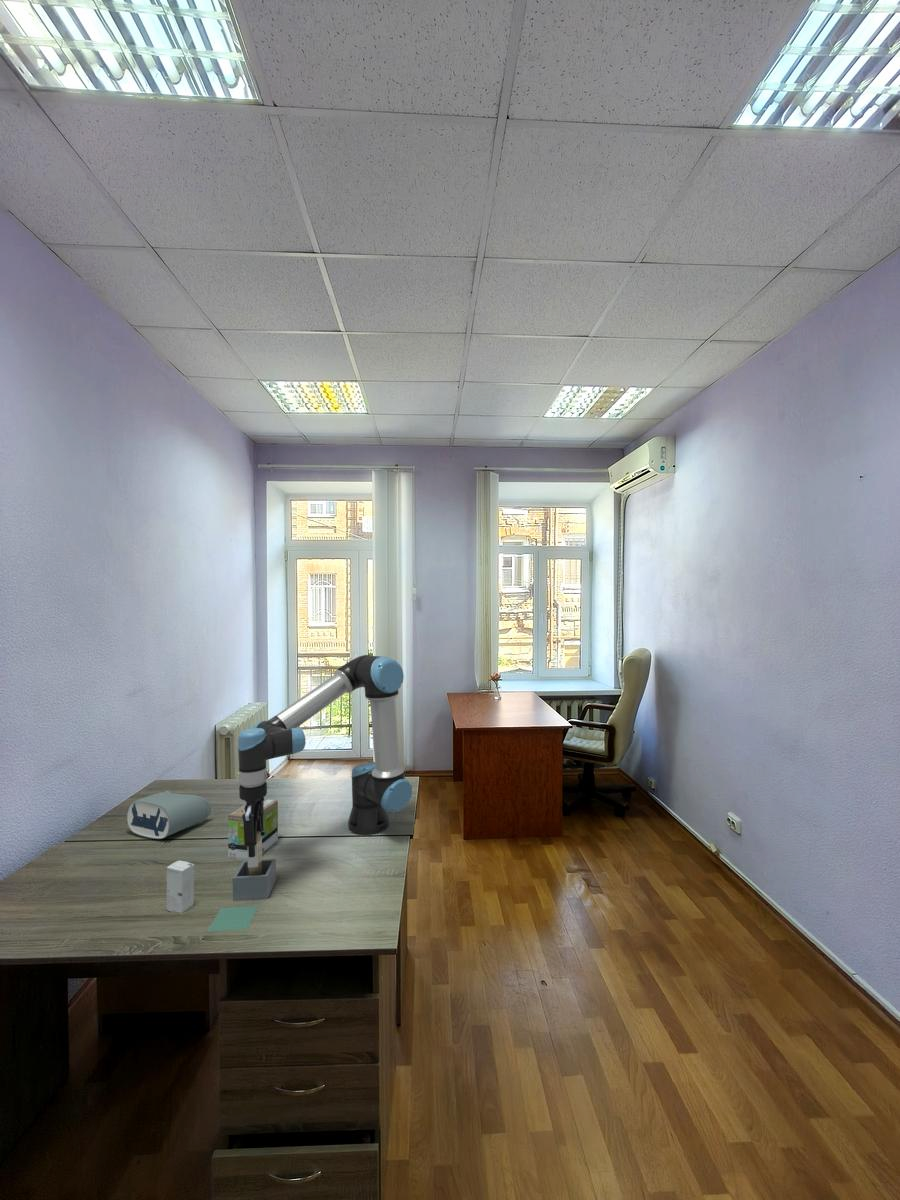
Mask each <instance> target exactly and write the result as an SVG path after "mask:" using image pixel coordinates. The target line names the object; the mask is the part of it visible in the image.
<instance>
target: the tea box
mask: <svg viewBox="0 0 900 1200" xmlns="http://www.w3.org/2000/svg"><path fill="white" fill-rule="evenodd" d="M278 804H279V803H278V800H277V799H267V798H264V804H263V807H264V830H263V831H262V832H265V835H263V836H261V837H262V854H263V853H265V851H267V850H268V849H269V848H270V847H272V846H273V845H275V843H276V842H278V840H279V831H278V830H279V828H278V827H279V821H278V820H279V814H278V812H279V811H278V810H279V808H278V807H279V805H278ZM245 805H246V803H245V804H243V805H242V806H240V807H238V808H237V809H236V810H234V811H232V812H231V813H229V814H228V819H227V820H228V821H227V822H228V826H227V828H228V829H227V830H228V832H227V834H228V835H227V837H228V838H227V840H228V841H227V842H228V843H227V845H228V848H227V850H228V851H227V852H228V853H227V854H228V855H227V858H228V859H243V860H248V854H247V847H245V846H244V823H243V817H242V815H243V814H246V812H245Z"/></svg>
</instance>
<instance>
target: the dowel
mask: <svg viewBox="0 0 900 1200" xmlns="http://www.w3.org/2000/svg"><path fill="white" fill-rule="evenodd" d="M256 842H257V843H258V867H250V868H249V876H254V875H262V860H263V855H262V856H261V832H260V831H257V838H256Z"/></svg>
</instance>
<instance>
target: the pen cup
mask: <svg viewBox="0 0 900 1200" xmlns="http://www.w3.org/2000/svg"><path fill="white" fill-rule="evenodd" d="M276 881H277V859H276V858H271V859H270V858H269V859H262V875H254V876H249V868H248V860H243V861H241V863H240V865H239V867H238V868H237V870H236V872H235V873H234V874H233V877H232V901H233V902H238V901H239V902H240V901H251V900H252V901H253V900H254V901H255V900H266V899H267V900H268V899H269V898H270V895H271V892H272V891H273V888H274V886H275V884H276Z"/></svg>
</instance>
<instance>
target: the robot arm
mask: <svg viewBox="0 0 900 1200" xmlns="http://www.w3.org/2000/svg"><path fill="white" fill-rule="evenodd" d="M404 678H405V677H404V671H403V667H402V666H401V664H400V663H399V662H398V661H397V660H396V659H393V658H390V657H388V656H380V655H379V656H378V655H370V654H364V655H359V656H358V657H355V658H352V660H349V661H348V662H346V663H345V664H343V665H342V666H341V667H339V668H337V669H336V670H335V671H334V673H333V675H332V676H330V677H329V678H328V679H326V680H325V681H323V682H322V683H320V684H319V685H318V686H316V687H315V688H313V689H312V690H311V691H308V693H306V694H304V695H303V696H302V697H300V698H298V699H297V700H296V701H294V702H293V703H292V704H290V705H289V706H287V707H286V708H284V709H282V710H281V711H280V712H279V713H277V714H276V715H274V716H272V717H271V718H270V719H268V720H261V721H257V722H256V723H255V724H254V725H253V726H252V728H246V729H243V730H241V731H240V732H239V733H238V735H237V736H238V737H237V738H238V739H237V751H238V755H237V757H238V758H237V759H238V772H237V776H238V779H239V780H238V781H239V782H238V783H239V787H238V789H239V790H238V791H239V796H238V797H239V799H241V801H244V802H246V803H245V804H246V805H245V812H246V814H243V815H242V817H243V823H244V846H245V847H247V854H248V859H247V861H248V868H250V867H258V843H257V842H256V838H257V831H260V832H261V836H263V835H265V832H262V831H263V830H264V807H263V804H264V799H265V797H266V795H267V794H268V784H267V782H266V781H267V780H268V779H267V778H268V776H267V775H268V774H267V761H268V760H272V759H277V758H281V757H285V756H286V757H287V756H289V755H294V754H296V753H300V752H302V751H303V750H304V749H305V747H306V743H307V742H306V735H305V733H304V730H303V729H302V728H300V726H301V725H303V724H304V723H306V722H307V721H308V720H310V719H311V718H313V717H314V716H315V715H316V714H318V713H319V712H321V711H322V710H324V709H325V708H327V707H328V706H330V704H332V703H333V702H335V701H336V700H337V699H339V698H340V697H342V696H343V695H344V694H346V693H348V694H351V693H352V692H354V691H355V690H357V689H360V688H364V697H365V699H367V700H368V701H369V703H370V704H369V705H370V718H371V729H372V742H373V753H374V761H369V762H363V763H358V764H357V765H355V766H354V767H353V768H352V769H351V777H350V778H351V794H352V796H351V797H352V799H351V800H352V801H351V803H352V806H351V807H352V808H351V810H350V814H349V818H348V821H347V828H348V830H349V832H351V833H353V834H357V835H364V836H365V835H368V836H369V835H374V834H377V833H381V832H383V831H385V830H386V829H387V828H388V827H389V825H390V817H389V815H388V812H389V813H397V812H400V811H402V810H403V809H405V807H407V805H408V804H409V802H410V801H411V798H412V795H413V786H412V784H411V782H410V781H409V780H408V779H406V775H405V772H406V771H405V768H404V767H403V766H402V764H401V763H400V752H399V740H398V739H399V738H398V727H397V713H396V700H395V699H396V697H398V695H399V689H400V688H401V687H402V684H403V682H404ZM261 856H262V857H263V853H262V837H261Z"/></svg>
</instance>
